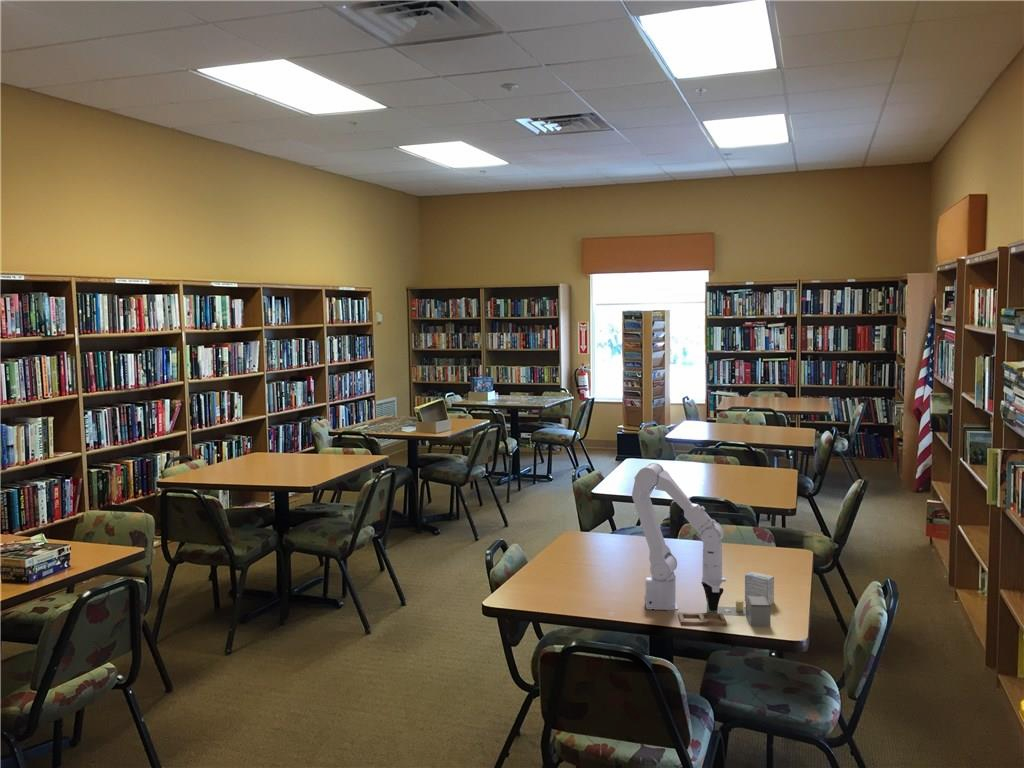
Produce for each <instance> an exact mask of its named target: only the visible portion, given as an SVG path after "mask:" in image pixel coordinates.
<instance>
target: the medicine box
mask: <svg viewBox="0 0 1024 768" xmlns="http://www.w3.org/2000/svg"><path fill="white" fill-rule="evenodd" d="M746 596H765V598H766V599H767V601H768V602H769V604H770V605H773V604H775V576H773V575H768V574H764V573H759V572H755V571H750V572H748V573H746V574H744V601H745V602H746Z"/></svg>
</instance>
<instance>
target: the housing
mask: <svg viewBox="0 0 1024 768" xmlns="http://www.w3.org/2000/svg"><path fill="white" fill-rule="evenodd" d="M771 605H772V604H771ZM771 605H770V604H769V602H768V601H767V599H766V598H765V596H746V601H745V607H746V616H745V618H746V619H747V622H748V623H749V625H750V626H751V627H762V628H763V627H768V628H769V627H771V616H772V615H771V609H772V608H771V607H772V606H771Z"/></svg>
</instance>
